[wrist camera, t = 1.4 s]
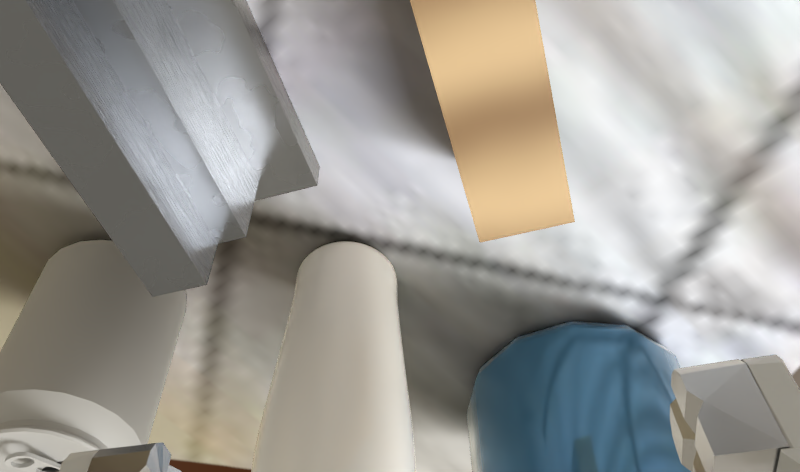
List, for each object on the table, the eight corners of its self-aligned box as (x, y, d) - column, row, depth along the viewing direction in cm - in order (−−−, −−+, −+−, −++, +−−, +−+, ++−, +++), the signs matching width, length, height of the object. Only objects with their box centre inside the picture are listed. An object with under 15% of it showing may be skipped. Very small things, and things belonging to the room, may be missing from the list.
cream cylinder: (399, 323, 43) (402, 583, 32) (280, 310, 43) (239, 572, 31) (420, 233, 39) (431, 497, 28) (288, 217, 38) (244, 482, 27)
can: (122, 345, 45) (51, 540, 35) (17, 266, 40) (-93, 463, 31) (218, 295, 42) (170, 491, 33) (118, 206, 38) (30, 400, 29)
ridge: (98, -332, 24) (-3, -309, 18) (319, 166, 36) (304, 281, 30) (-163, -228, 26) (-336, -174, 20) (132, 214, 38) (83, 331, 32)
